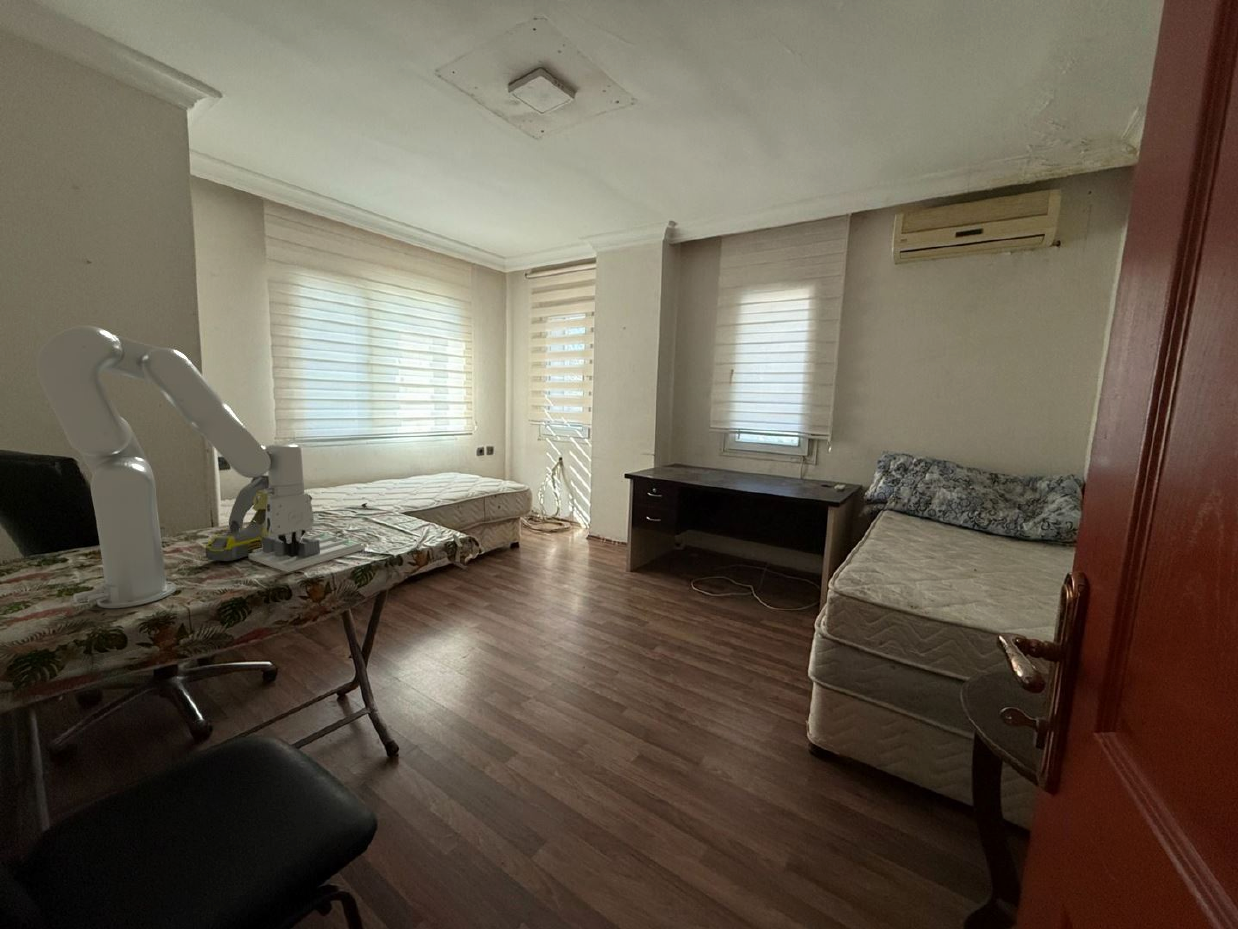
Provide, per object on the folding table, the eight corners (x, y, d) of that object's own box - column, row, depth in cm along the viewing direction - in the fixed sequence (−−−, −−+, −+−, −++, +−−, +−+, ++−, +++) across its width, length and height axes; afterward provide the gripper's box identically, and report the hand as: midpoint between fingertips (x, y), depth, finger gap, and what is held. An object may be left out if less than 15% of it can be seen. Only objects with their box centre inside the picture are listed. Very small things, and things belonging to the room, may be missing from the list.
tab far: (270, 554, 132) (269, 536, 131) (263, 551, 134) (261, 533, 133) (286, 550, 136) (284, 532, 135) (278, 547, 137) (277, 530, 137)
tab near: (305, 559, 129) (304, 541, 128) (297, 556, 131) (295, 538, 130) (320, 555, 133) (319, 537, 132) (311, 552, 134) (310, 535, 133)
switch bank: (287, 572, 124) (286, 564, 123) (248, 558, 132) (248, 551, 132) (364, 549, 143) (364, 542, 143) (326, 538, 152) (326, 531, 151)
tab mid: (283, 558, 129) (281, 539, 129) (274, 555, 131) (273, 537, 130) (298, 554, 133) (297, 536, 132) (290, 551, 135) (288, 533, 134)
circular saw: (320, 503, 160) (274, 461, 140) (276, 587, 143) (215, 552, 123) (292, 502, 161) (242, 459, 141) (244, 585, 144) (179, 550, 123)
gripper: (263, 497, 117) (269, 566, 119) (323, 487, 130) (328, 550, 133) (247, 493, 120) (253, 561, 123) (308, 483, 133) (312, 545, 136)
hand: (292, 555), depth 128 cm, fingers closed
